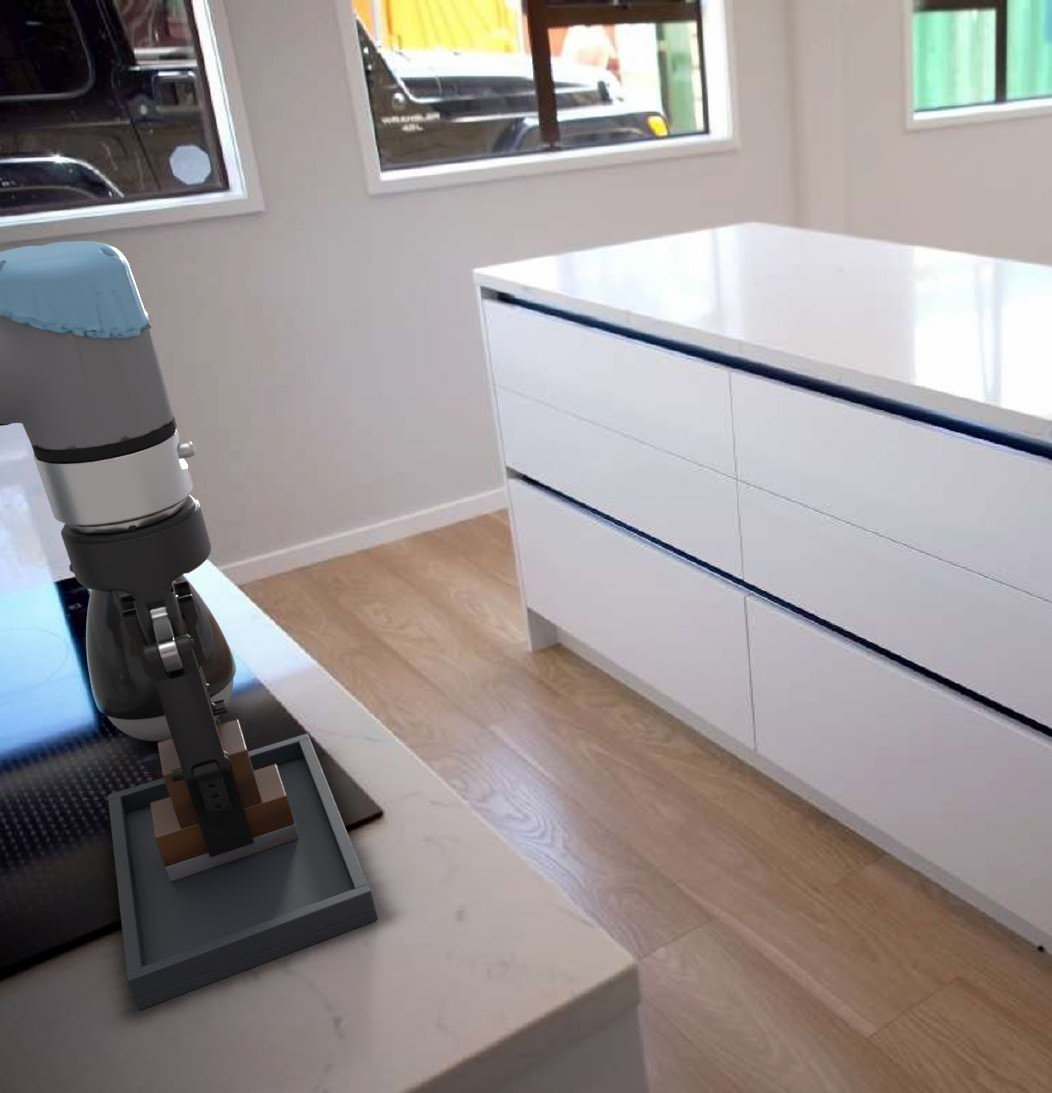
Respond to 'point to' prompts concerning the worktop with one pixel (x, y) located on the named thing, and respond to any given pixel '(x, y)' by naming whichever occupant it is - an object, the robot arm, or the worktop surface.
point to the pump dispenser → (122, 674)
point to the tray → (235, 887)
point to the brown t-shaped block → (259, 800)
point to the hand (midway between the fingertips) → (226, 826)
